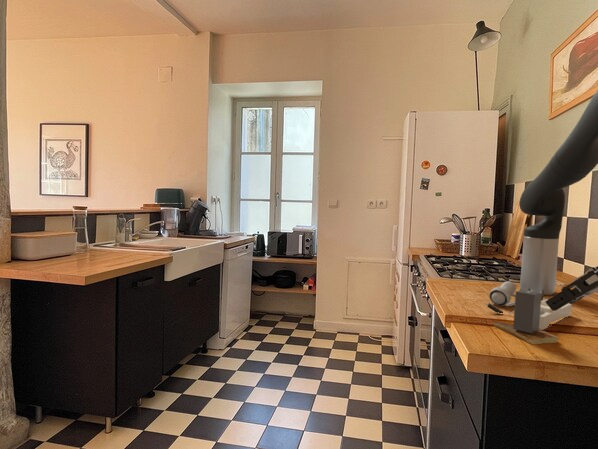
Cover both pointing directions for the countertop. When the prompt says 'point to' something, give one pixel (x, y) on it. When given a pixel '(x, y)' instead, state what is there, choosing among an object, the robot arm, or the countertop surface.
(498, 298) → the clip-on lamp
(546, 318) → the power strip
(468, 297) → the countertop surface
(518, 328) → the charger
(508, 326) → the shard
